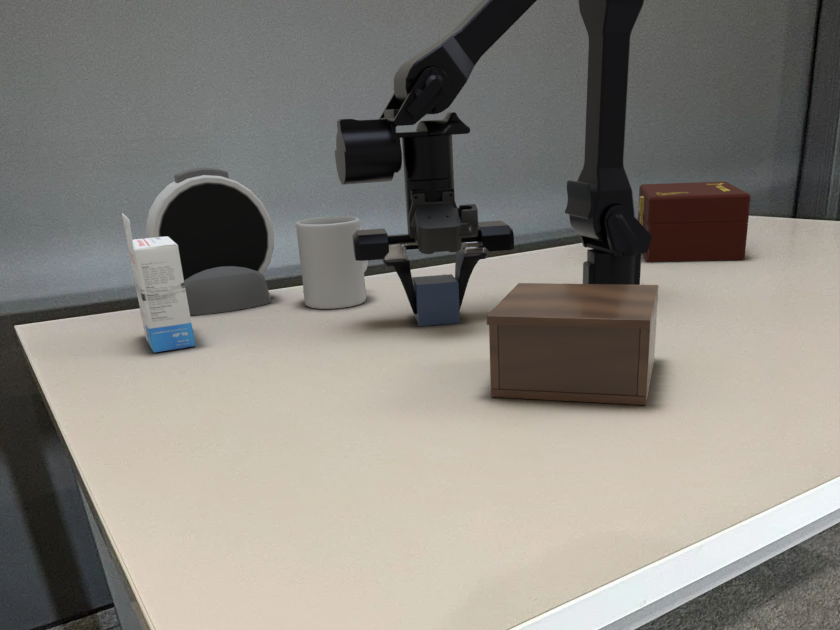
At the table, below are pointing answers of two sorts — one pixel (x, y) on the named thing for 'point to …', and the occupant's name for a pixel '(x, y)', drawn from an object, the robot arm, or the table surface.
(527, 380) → the box
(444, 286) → the block
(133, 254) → the ink box
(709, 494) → the table surface
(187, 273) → the alarm clock
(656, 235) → the box
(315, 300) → the mug
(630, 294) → the lid
